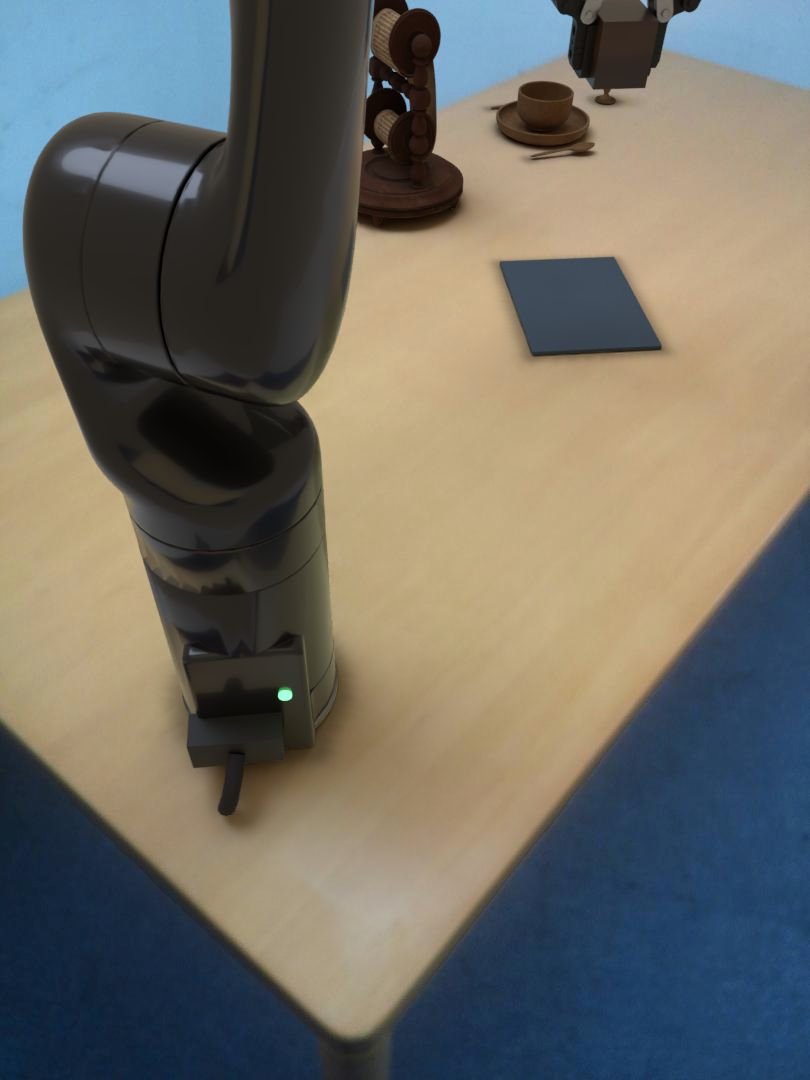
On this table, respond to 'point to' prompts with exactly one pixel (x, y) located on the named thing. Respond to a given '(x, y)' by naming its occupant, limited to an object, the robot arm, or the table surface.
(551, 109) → the place setting
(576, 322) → the grey mat
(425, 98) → the brown wooden upright stand
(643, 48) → the walnut block
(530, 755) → the table surface
